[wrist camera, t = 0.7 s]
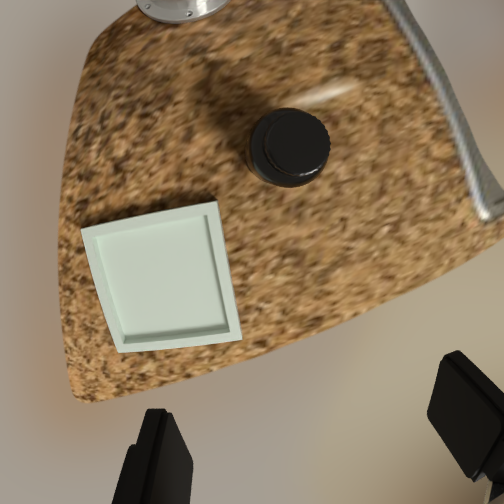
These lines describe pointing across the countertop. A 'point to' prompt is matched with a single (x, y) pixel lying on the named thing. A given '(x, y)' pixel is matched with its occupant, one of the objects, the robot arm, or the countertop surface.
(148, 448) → the robot arm
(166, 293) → the sage tray
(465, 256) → the countertop surface
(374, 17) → the countertop surface
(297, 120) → the supplement bottle
